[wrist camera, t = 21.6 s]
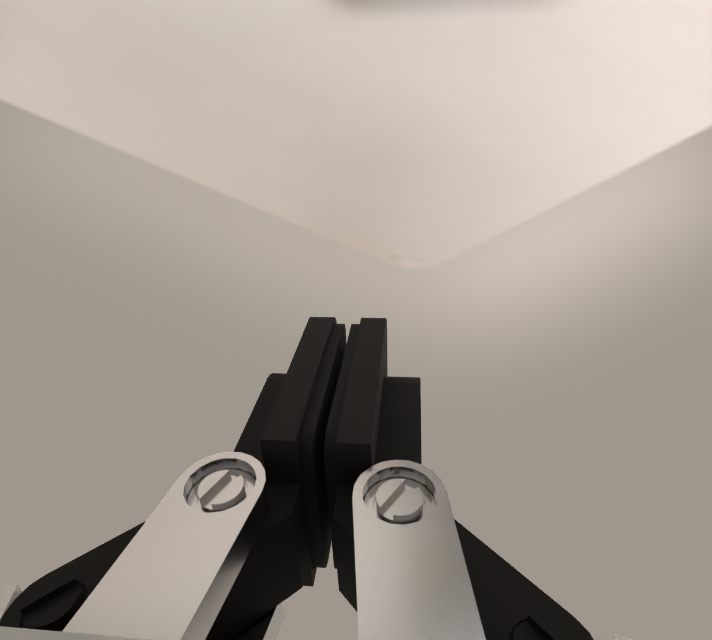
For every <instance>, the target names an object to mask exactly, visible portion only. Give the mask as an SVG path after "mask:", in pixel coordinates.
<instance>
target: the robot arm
mask: <svg viewBox="0 0 712 640" xmlns="http://www.w3.org/2000/svg"><path fill="white" fill-rule="evenodd" d="M345 330H346V329H345V324H337V323H336V318H335V317H310V318H309V320H308V323H307V325H306V328H305V330H304V332H303V335H302V337H301V340H300V342H299V345H298V347H297V350H296V352H295V354H294V357H293V359H292V362H291V364H290V367H289V369H288V372H287V374H278V373H272V374H270V375H269V377H268V378H267V381H266V383H265V385H264V387H263V389H262V391H261V393H260V396H259V398H258V400H257V402H256V404H255V406H254V409H253V411H252V413H251V415H250V417H249V419H248V422H247V424H246V426H245V428H244V430H243V433H242V435H241V437H240V439H239V441H238V443H237V446H236V448H235V450H234V452H224V453H218V454H214V455H211V456H209V457H206V458H203V459H201V460H200V461H198V462H196V463H195V464H193V465H192V466H190V467H189V468H188V469H187V470H186V471H185V472H184V473H183V474H182V475H181V476H180V477H179V479H178V480H177V481H176V483H175V484H174V485H173V487H172V488H171V489H170V491H169V492H168V493H167V494H166V496H165V497H164V498H163V500H162V501H161V502H160V504H159V505H158V506H157V508H156V509H155V510H154V512H153V513H152V514H151V516H150V517H149V518H148V519H147V521H145V522H143V523H141V524H139V525H138V526H136V527H134V528H132V529H130V530H128V531H126V532H125V533H123V534H121V535H119V536H117V537H115V538H113V539H112V540H110V541H108V542H106V543H104V544H102V545H100V546H98V547H97V548H95V549H93V550H91V551H89V552H87V553H86V554H83V555H82V556H80V557H78V558H76V559H74V560H72V561H70V562H69V563H67V564H65V565H63V566H61V567H59V568H58V569H56V570H54V571H52V572H50V573H48V574H46V575H45V576H43V577H42V578H40V579H39V580H37V581H36V582H34V583H32V584H31V585H29V587H27V588H26V589H25V590H24V591H21V589H20V587H19V585H18V584H16V585H8V586H1V587H0V640H275V639H276V637H277V634H278V631H279V629H280V626H281V624H282V621H283V618H284V615H285V610H286V606H287V601H286V599H287V598H288V597H290V596H291V595H292V594H294V593H295V592H297V591H298V590H299V589H301V588H302V586H313V584H314V579H315V573H316V568H317V567H321V568H326V566H327V563H328V558H329V553H330V547H331V541H332V549H333V560H334V567H335V569H337V571H338V583H339V591H340V592H341V593H342V594H343V595H344V597H345V598H346V599H347V600H348V601H349V603H350V604H351V605H352V606H353V608H354V609H355V610H356V611H357V612H358V633H359V640H605V639H602V638H598V637H595V636H592V635H590V633H589V632H588V631H587V630H586V629H585V628H584V627H583V626H582V625H581V623H580V622H579V621H577V619H576V618H574V617H573V616H572V615H571V614H570V613H568V612H567V611H566V610H565V609H564V608H562V607H561V606H560V605H559V604H558V603H556V602H555V601H554V600H553V599H551V598H550V597H549V596H548V595H547V594H545V593H544V592H543V591H542V590H540V589H539V588H538V587H537V586H535V585H534V584H533V583H532V582H531V581H529V580H528V579H527V578H526V577H525V576H523V575H522V574H521V573H520V572H518V571H517V570H516V569H515V568H514V567H512V566H511V565H510V564H509V563H507V562H506V561H505V560H504V559H503V558H501V557H500V556H499V555H498V554H496V553H495V552H494V551H493V550H492V549H490V548H489V547H488V546H487V545H485V544H484V543H483V542H482V541H480V540H479V539H478V538H477V537H476V536H474V535H473V534H472V533H471V532H469V531H468V530H467V529H466V528H465V527H463V526H462V525H461V524H460V523H458V522H457V521H456V520H455V519H454V517H453V514H452V510H451V506H450V502H449V498H448V495H447V491H446V489H445V487H444V484H443V482H442V480H441V479H440V478H439V477H438V476H437V475H436V474H435V473H434V472H433V471H432V470H430V469H428V468H426V467H425V466H423V465H421V400H420V399H421V397H420V378H415V377H387V320H386V318H361V322H360V324H352V325H351V328H350V332H349V337H348V341H347V345H346V331H345ZM612 640H632V639H629V638H625V637H622V636H619V635H616V634H614V637H613V639H612Z"/></svg>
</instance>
